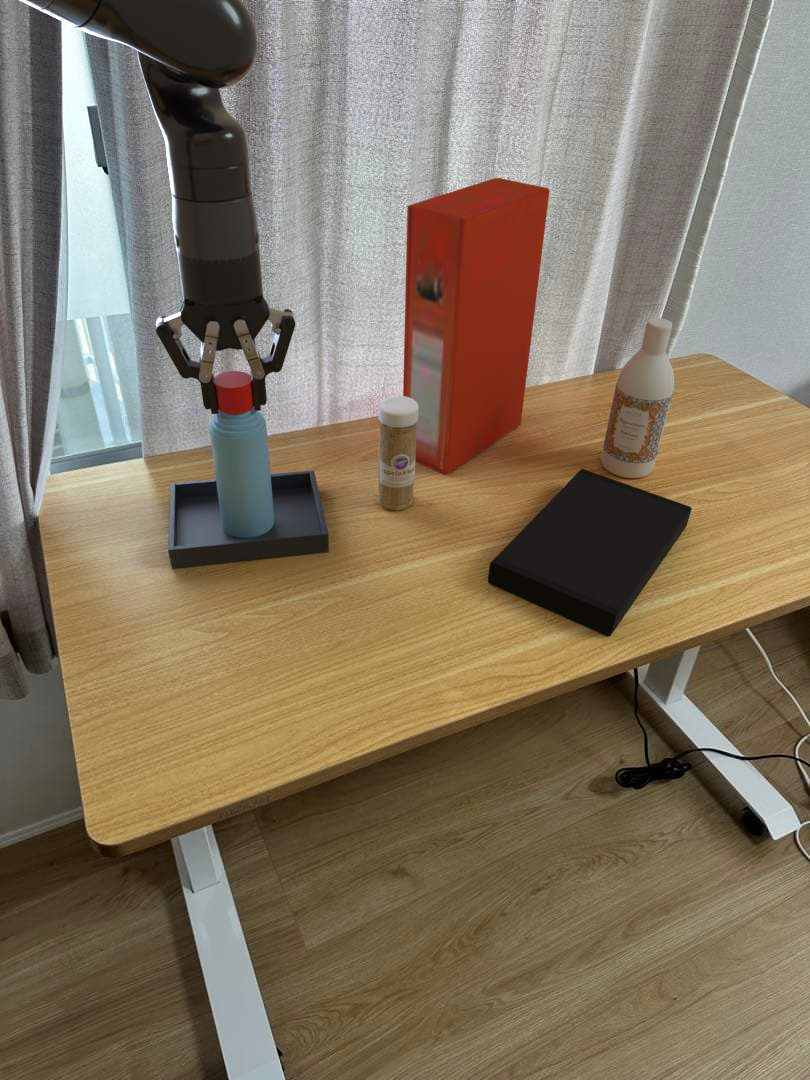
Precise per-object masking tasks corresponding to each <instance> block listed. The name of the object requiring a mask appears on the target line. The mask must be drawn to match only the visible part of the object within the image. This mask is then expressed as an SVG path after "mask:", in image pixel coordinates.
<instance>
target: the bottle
mask: <svg viewBox="0 0 810 1080" xmlns="http://www.w3.org/2000/svg"><path fill="white" fill-rule="evenodd" d="M208 430H209V437H210V446H211V452H212V460H213V470H214V476H215V479H216V484H217V491H218V499H219V506H220V514H221V521H222V527H223V529H224V531H225V532H227V533H228V534H230V535H232V536H235V537H239V538H251V537H257V536H260V535H262V534H264V533H266V532H268V531H269V530H270V529H271V528H272V527H273V525H274V510H273V498H272V486H271V474H272V473H271V463H270V453H269V450H270V449H269V441H268V428H267V421H266V418H265V417H264V415H263V414H262V412H260V411H254V407H253V409H251V410H250V411H248V412H246V413H242V414H226V413H223V412H221V411H219V410H218V414H213V415H212V416H211V418H210V420H209V424H208Z"/></svg>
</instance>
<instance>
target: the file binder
mask: <svg viewBox="0 0 810 1080" xmlns="http://www.w3.org/2000/svg"><path fill="white" fill-rule="evenodd" d="M549 200H550V188H549V187H544V186H541V185H535V184H530V183H524V182H522V181H521V182H520V181H515V180H510V179H506V178H501V177H494V178H490V179H488V180H485V181H481V182H478V183H475V184H471V185H469V186H466V187H462V188H459V189H456V190H454V191H453V190H452V191H450V192H446V193H444V194H440V195H438V196H434V197H431V198H427V199H425V200H421V201H418V202H415V203H412V204H409V205H407V211H406V212H407V213H406V214H407V215H406V250H405V251H406V252H405V253H406V255H405V256H406V259H405V293H404V295H405V298H404V335H403V336H404V337H403V339H404V344H403V377H402V378H403V380H402V384H403V385H402V396H405V397H409V398H411V399H413V400H415V401H416V402H417V403H418V406H419V413H418V421H417V424H416V457H415V463H418V464H421V465H423V466H425V467H427V468H429V469H432V470H434V471H437V472H439V473H441V474H444V475H449V474H451V473H453V472H454V471H456V470H457V469H458V468H460V467H461V466H463V465H464V464H466V463H467V462H469V461H470V460H472V459H473V458H475V457H476V456H477V455H479V454H480V453H482V452H483V451H485V450H487V449H488V448H489V447H490V446H492V445H493V444H495V443H496V442H498V441H499V440H501V439H502V438H504V437H505V436H507V435H508V434H509V433H511V432H512V431H514V430H516V429H517V428H519V427H520V426H521V425H522V417H523V410H524V409H523V408H524V402H525V401H524V400H525V393H526V392H525V391H526V384H527V377H528V369H529V360H530V352H531V344H532V336H533V328H534V321H535V319H534V318H535V311H536V303H537V297H538V296H537V295H538V288H539V278H540V273H541V272H540V271H541V263H542V257H543V256H542V254H543V247H544V239H545V230H546V222H547V216H548V207H549Z"/></svg>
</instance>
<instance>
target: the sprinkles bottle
mask: <svg viewBox="0 0 810 1080" xmlns="http://www.w3.org/2000/svg"><path fill="white" fill-rule="evenodd" d="M418 413H419V406H418V403H417V402H416V401H415V400H413V399H411V398H409V397H405V396H403V395H390V396H387V397H385V398H383V399H381V401H379V403H378V413H377V418H378V423H379V433H378V434H379V435H378V450H377V479H378V491H377V492H378V494H377V496H376V497H377V499H376V500H377V503H378V504H379V506H381V507H382V508H383V509H385V510H389V511H402V510H406V509H408V508H410V507H411V506H412V505H413V503H414V499H415V498H414V485H415V483H414V482H415V475H416V474H415V473H416V461H415V457H416V424H417V421H418Z"/></svg>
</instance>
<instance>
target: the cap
mask: <svg viewBox="0 0 810 1080" xmlns="http://www.w3.org/2000/svg"><path fill="white" fill-rule="evenodd" d="M214 384H215V392H216V400H217V408H218V410H219V411H221V412H223V413H226V414H242V413H246V412H248V411H250V410H251V409H253V407H254V401H253V390H252V380H251V374H249V373H247V372H245V371H239V370H230V371H224V372H221V373H218V374H217V375H215V376H214Z"/></svg>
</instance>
